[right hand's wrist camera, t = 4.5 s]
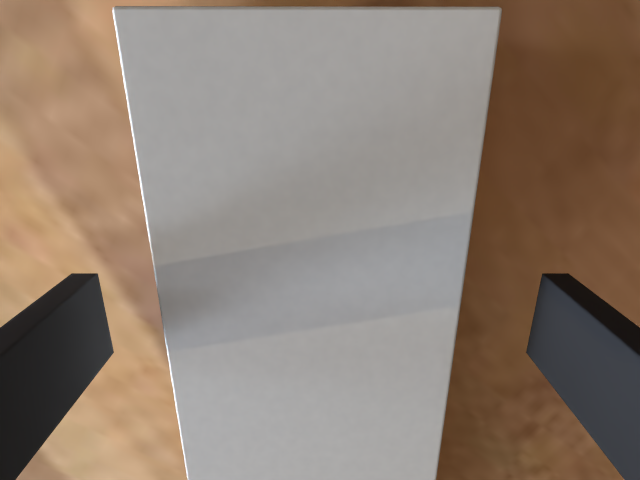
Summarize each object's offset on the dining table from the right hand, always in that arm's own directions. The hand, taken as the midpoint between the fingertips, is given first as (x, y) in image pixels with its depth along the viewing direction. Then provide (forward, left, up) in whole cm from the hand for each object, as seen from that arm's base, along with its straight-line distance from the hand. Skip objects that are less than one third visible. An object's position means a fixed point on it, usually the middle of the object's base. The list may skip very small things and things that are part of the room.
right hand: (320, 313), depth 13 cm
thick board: (-3, -29, -7) cm, 30 cm away
